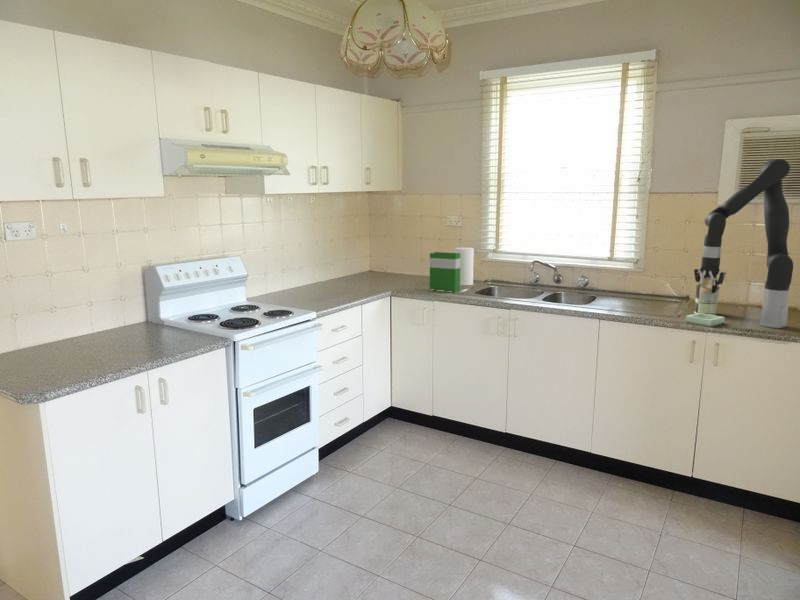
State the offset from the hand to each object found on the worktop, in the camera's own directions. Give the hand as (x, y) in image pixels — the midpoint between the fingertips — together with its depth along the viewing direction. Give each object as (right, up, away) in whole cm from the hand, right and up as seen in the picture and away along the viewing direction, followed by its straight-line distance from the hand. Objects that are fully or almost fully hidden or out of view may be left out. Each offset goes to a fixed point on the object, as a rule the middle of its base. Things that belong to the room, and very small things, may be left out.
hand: (707, 292), depth 261 cm
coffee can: (+12, -11, +23) cm, 28 cm away
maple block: (0, -1, 0) cm, 1 cm away
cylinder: (-102, +6, +113) cm, 152 cm away
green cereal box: (-116, +2, +92) cm, 148 cm away
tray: (0, -15, +3) cm, 15 cm away
